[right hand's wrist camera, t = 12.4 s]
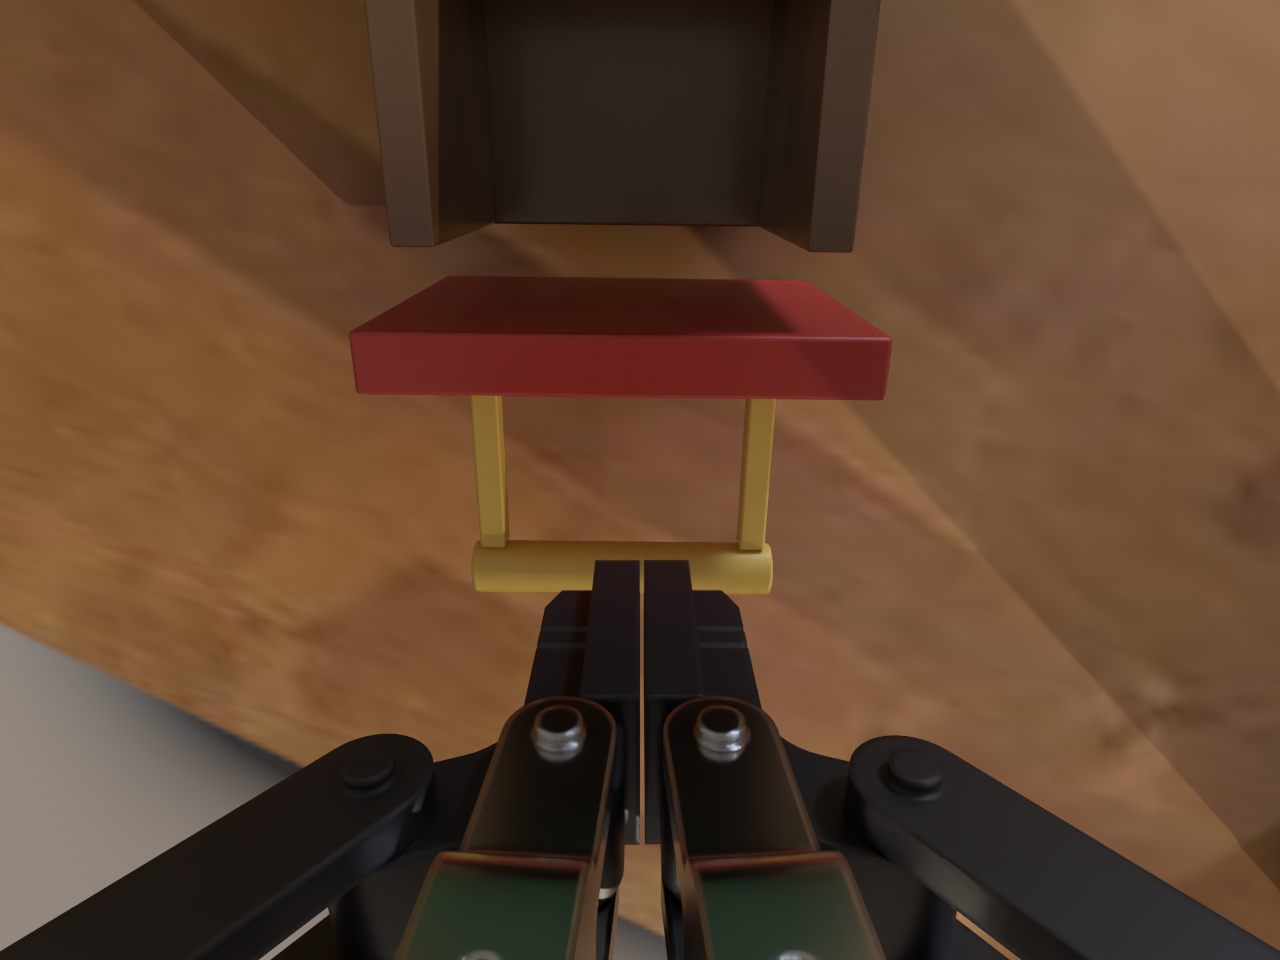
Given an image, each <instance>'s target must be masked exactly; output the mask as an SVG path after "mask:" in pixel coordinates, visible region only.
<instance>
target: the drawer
mask: <svg viewBox="0 0 1280 960" xmlns="http://www.w3.org/2000/svg"><path fill="white" fill-rule="evenodd" d="M880 2H881V0H365V8H366V18H367V27H368V37H369V47H370V56H371V66H372V76H373V85H374V95H375V104H376V114H377V124H378V133H379V143H380V153H381V162H382V172H383V181H384V191H385V201H386V210H387V220H388V230H389V239H390V244H391V246H394V247H433V246H436V245H439V244H441V243H444V242H446V241H449V240H452V239H454V238H457V237H459V236H462V235H465V234H467V233H470V232H473V231H475V230H478V229H480V228H483V227H486V226H488V225H491V224H493V223H501V224H579V225H658V226H736V227H761V228H763V229H765V230H767V231H769V232H771V233H773V234H775V235H777V236H779V237H781V238H783V239H785V240H787V241H789V242H791V243H793V244H795V245H797V246H799V247H801V248H803V249H805V250H807V251H809V252H847V253H850V252H852V251H853V246H854V237H855V228H856V219H857V210H858V201H859V192H860V183H861V174H862V165H863V156H864V147H865V137H866V128H867V119H868V110H869V101H870V92H871V83H872V74H873V65H874V56H875V47H876V38H877V29H878V20H879V11H880ZM349 338H350V346H351V354H352V361H353V369H354V377H355V385H356V390H357V393H360V394H388V395H470V401H471V415H472V429H473V443H474V457H475V471H476V484H477V498H478V512H479V526H480V540H479V541H477V542H476V544H475V547H474V550H473V556H472V581H473V585H474V588H475V590H477V591H483V592H561V591H562V590H592V585H593V576H594V567H595V560H640V593H644V560H688V561H689V567H690V575H691V583H692V590H722V591H723V592H724V593H725V594H768V593H769V592H770V590H771V586H772V579H773V560H772V552H771V549H770V546H769V545H768V544H766V543H765V532H766V519H767V507H768V494H769V482H770V470H771V457H772V445H773V432H774V420H775V407H776V399H815V400H882V399H884V397H885V392H886V385H887V377H888V370H889V362H890V355H891V347H892V339H891V338H890V337H889V336H887V335H886V334H884V333H883V332H881V331H880V330H878V329H877V328H876V327H874V326H873V325H871V324H870V323H868V322H867V321H865V320H864V319H862V318H861V317H859V316H858V315H856V314H855V313H853V312H852V311H851V310H849V309H848V308H846V307H845V306H843V305H842V304H840V303H839V302H837V301H836V300H834V299H833V298H831V297H830V296H828V295H827V294H825V293H824V292H823V291H821V290H820V289H818V288H817V287H815V286H814V285H812V284H811V283H809V282H808V281H806V280H730V279H650V278H570V277H489V276H448V277H446V278H444V279H442V280H440V281H439V282H437V283H435V284H433V285H432V286H430V287H428V288H426V289H425V290H423V291H421V292H419V293H417V294H416V295H414V296H412V297H410V298H409V299H407V300H405V301H403V302H402V303H400V304H398V305H396V306H395V307H393V308H391V309H389V310H387V311H386V312H384V313H382V314H380V315H379V316H377V317H375V318H373V319H372V320H370V321H368V322H366V323H365V324H363V325H361V326H359V327H357V328H356V329H354V330H352V331H350V334H349ZM502 396H559V397H644V398H729V399H746V404H745V419H744V435H743V450H742V465H741V481H740V496H739V511H738V527H737V541H738V543H712V542H620V541H528V540H508V539H509V520H508V502H507V485H506V467H505V449H504V431H503V414H502Z"/></svg>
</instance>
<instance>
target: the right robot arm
mask: <svg viewBox="0 0 1280 960" xmlns="http://www.w3.org/2000/svg"><path fill="white" fill-rule="evenodd" d="M644 778H645V844H661V906H662V915H663V924H664V932H665V941H666V950H667V959H668V960H1009V959H1008V958H1006V957H1005V956H1004V955H1003V954H1001V953H1000V952H999V951H997V950H996V949H995V948H993V947H992V946H991V945H990V944H988V943H987V942H986V941H984V940H983V939H982V938H981V937H979V936H978V935H977V934H975V933H974V932H973V931H971V930H970V929H969V928H968V927H966V926H965V925H964V924H962V923H961V922H960V921H959V920H957V919H956V913H957V911H958V912H960V913H961V914H962V915H963V916H965V917H966V918H967V919H969V920H970V921H971V922H973V923H974V924H975V925H977V926H978V927H979V928H981V929H982V930H983V931H984V932H986V933H987V934H988V935H990V936H991V937H992V938H994V939H995V940H996V941H998V942H999V943H1000V944H1001V945H1003V946H1004V947H1005V948H1007V949H1008V950H1009V951H1011V952H1012V953H1013V954H1015V955H1016V956H1017V957H1018V958H1020V959H1021V960H1280V951H1278V950H1277V949H1275V948H1273V947H1272V946H1270V945H1268V944H1267V943H1265V942H1264V941H1262V940H1260V939H1259V938H1257V937H1255V936H1254V935H1252V934H1250V933H1249V932H1247V931H1245V930H1244V929H1242V928H1240V927H1239V926H1237V925H1235V924H1234V923H1232V922H1230V921H1229V920H1227V919H1225V918H1224V917H1222V916H1221V915H1219V914H1217V913H1216V912H1214V911H1212V910H1211V909H1209V908H1207V907H1206V906H1204V905H1202V904H1201V903H1199V902H1197V901H1196V900H1194V899H1192V898H1191V897H1189V896H1187V895H1186V894H1184V893H1182V892H1181V891H1179V890H1178V889H1176V888H1174V887H1173V886H1171V885H1169V884H1168V883H1166V882H1164V881H1163V880H1161V879H1159V878H1158V877H1156V876H1154V875H1153V874H1151V873H1149V872H1148V871H1146V870H1144V869H1143V868H1141V867H1139V866H1138V865H1136V864H1135V863H1133V862H1131V861H1130V860H1128V859H1126V858H1125V857H1123V856H1121V855H1120V854H1118V853H1116V852H1115V851H1113V850H1111V849H1110V848H1108V847H1106V846H1105V845H1103V844H1101V843H1100V842H1098V841H1096V840H1095V839H1093V838H1092V837H1090V836H1088V835H1087V834H1085V833H1083V832H1082V831H1080V830H1078V829H1077V828H1075V827H1073V826H1072V825H1070V824H1068V823H1067V822H1065V821H1063V820H1062V819H1060V818H1058V817H1057V816H1055V815H1053V814H1052V813H1050V812H1049V811H1047V810H1045V809H1044V808H1042V807H1040V806H1039V805H1037V804H1035V803H1034V802H1032V801H1030V800H1029V799H1027V798H1025V797H1024V796H1022V795H1020V794H1019V793H1017V792H1015V791H1014V790H1012V789H1010V788H1009V787H1007V786H1006V785H1004V784H1002V783H1001V782H999V781H997V780H996V779H994V778H992V777H991V776H989V775H987V774H986V773H984V772H982V771H981V770H979V769H977V768H976V767H974V766H972V765H971V764H969V763H967V762H966V761H964V760H963V759H961V758H959V757H958V756H956V755H954V754H953V753H951V752H949V751H948V750H946V749H944V748H942V747H940V746H938V745H936V744H933V743H931V742H928V741H925V740H922V739H918V738H913V737H908V736H897V735H895V736H882V737H877V738H874V739H871V740H868V741H866V742H865V743H863V744H861V745H860V746H859V747H858V748H857V749H856V750H855V751H854V753H853V754H852V756H851V759H850V762H848V761H844V760H840V759H835V758H831V757H827V756H823V755H819V754H815V753H812V752H809V751H806V750H804V749H801V748H799V747H797V746H795V745H793V744H791V743H789V742H788V741H786V740H785V739H783V738H782V737H781V736H780V734H779V731H778V729H777V727H776V725H775V723H774V721H773V720H772V719H771V717H770V716H769V715H768V714H766V713H765V712H764V711H763V710H762V708H761V704H760V699H759V695H758V690H757V686H756V682H755V677H754V673H753V668H752V664H751V659H750V655H749V650H748V648H747V642H746V637H745V633H744V631H743V624H742V619H741V615H740V611H739V607H738V606H737V605H736V604H735V603H734V602H733V601H732V600H731V599H730V598H729V597H728V596H727V595H726V594H725V593H724V592H723V591H722V590H692V583H691V575H690V567H689V561H688V560H644ZM624 845H640V560H595V567H594V576H593V585H592V590H562V591H561V592H560V593H559V594H558V595H557V596H556V597H555V598H554V599H553V600H552V601H551V602H550V603H549V604H548V605H547V606H546V607H545V611H544V616H543V620H542V625H541V632H540V634H539V639H538V644H537V648H536V653H535V657H534V662H533V667H532V671H531V676H530V681H529V685H528V690H527V694H526V699H525V704H524V706H523V707H521V708H520V709H519V710H517V711H516V712H515V713H514V714H512V715H511V716H510V717H509V719H508V720H507V721H506V723H505V725H504V727H503V729H502V731H501V734H500V737H499V740H498V742H497V743H495V744H493V745H491V746H489V747H487V748H485V749H482V750H480V751H478V752H475V753H471V754H468V755H464V756H460V757H456V758H451V759H447V760H443V761H439V762H435V763H433V758H432V755H431V753H430V751H429V750H428V748H427V747H426V746H425V745H424V744H422V743H421V742H420V741H418V740H416V739H414V738H411V737H408V736H405V735H399V734H377V735H371V736H366V737H362V738H359V739H355V740H353V741H350V742H348V743H345V744H343V745H341V746H340V747H338V748H336V749H334V750H332V751H331V752H329V753H327V754H326V755H324V756H322V757H321V758H319V759H318V760H316V761H314V762H313V763H311V764H309V765H308V766H306V767H304V768H303V769H301V770H299V771H298V772H296V773H294V774H293V775H291V776H289V777H288V778H286V779H284V780H283V781H281V782H279V783H278V784H276V785H275V786H273V787H271V788H270V789H268V790H266V791H265V792H263V793H261V794H260V795H258V796H256V797H255V798H253V799H251V800H250V801H248V802H246V803H245V804H243V805H241V806H240V807H238V808H236V809H235V810H233V811H232V812H230V813H228V814H227V815H225V816H223V817H222V818H220V819H218V820H217V821H215V822H213V823H212V824H210V825H208V826H207V827H205V828H203V829H202V830H200V831H198V832H197V833H195V834H193V835H192V836H190V837H189V838H187V839H185V840H184V841H182V842H180V843H179V844H177V845H175V846H174V847H172V848H170V849H169V850H167V851H165V852H164V853H162V854H160V855H159V856H157V857H156V858H154V859H152V860H150V861H149V862H147V863H146V864H144V865H142V866H141V867H139V868H137V869H136V870H134V871H132V872H131V873H129V874H127V875H126V876H124V877H122V878H121V879H119V880H117V881H116V882H114V883H112V884H111V885H109V886H107V887H106V888H104V889H103V890H101V891H99V892H98V893H96V894H94V895H93V896H91V897H89V898H88V899H86V900H84V901H83V902H81V903H79V904H78V905H76V906H74V907H73V908H71V909H70V910H68V911H66V912H65V913H63V914H61V915H60V916H58V917H56V918H55V919H53V920H51V921H50V922H48V923H46V924H45V925H43V926H41V927H40V928H38V929H36V930H35V931H33V932H31V933H30V934H28V935H27V936H25V937H23V938H22V939H20V940H18V941H17V942H15V943H13V944H12V945H10V946H8V947H7V948H5V949H3V950H2V951H0V960H259V959H260V958H261V957H263V956H264V955H265V954H267V953H268V952H269V951H271V950H272V949H273V948H275V947H276V946H277V945H279V944H280V943H281V942H282V941H284V940H285V939H286V938H288V937H289V936H290V935H292V934H293V933H294V932H296V931H297V930H298V929H299V928H301V927H302V926H303V925H305V924H306V923H307V922H309V921H310V920H311V919H313V918H314V917H315V916H317V915H318V914H319V913H320V912H322V911H323V910H324V909H326V908H327V907H328V909H329V915H328V916H327V917H325V918H324V919H323V920H322V921H320V922H319V923H318V924H316V925H315V926H314V927H312V928H311V929H310V930H309V931H307V932H306V933H305V934H303V935H302V936H301V937H300V938H298V939H297V940H296V941H294V942H293V943H292V944H290V945H289V946H288V947H287V948H285V949H284V950H283V951H281V952H280V953H279V954H277V955H276V956H275V957H274V958H272V959H271V960H612V959H613V950H614V941H615V932H616V923H617V915H618V906H619V885H620V883H621V880H622V877H623V871H624Z"/></svg>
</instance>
